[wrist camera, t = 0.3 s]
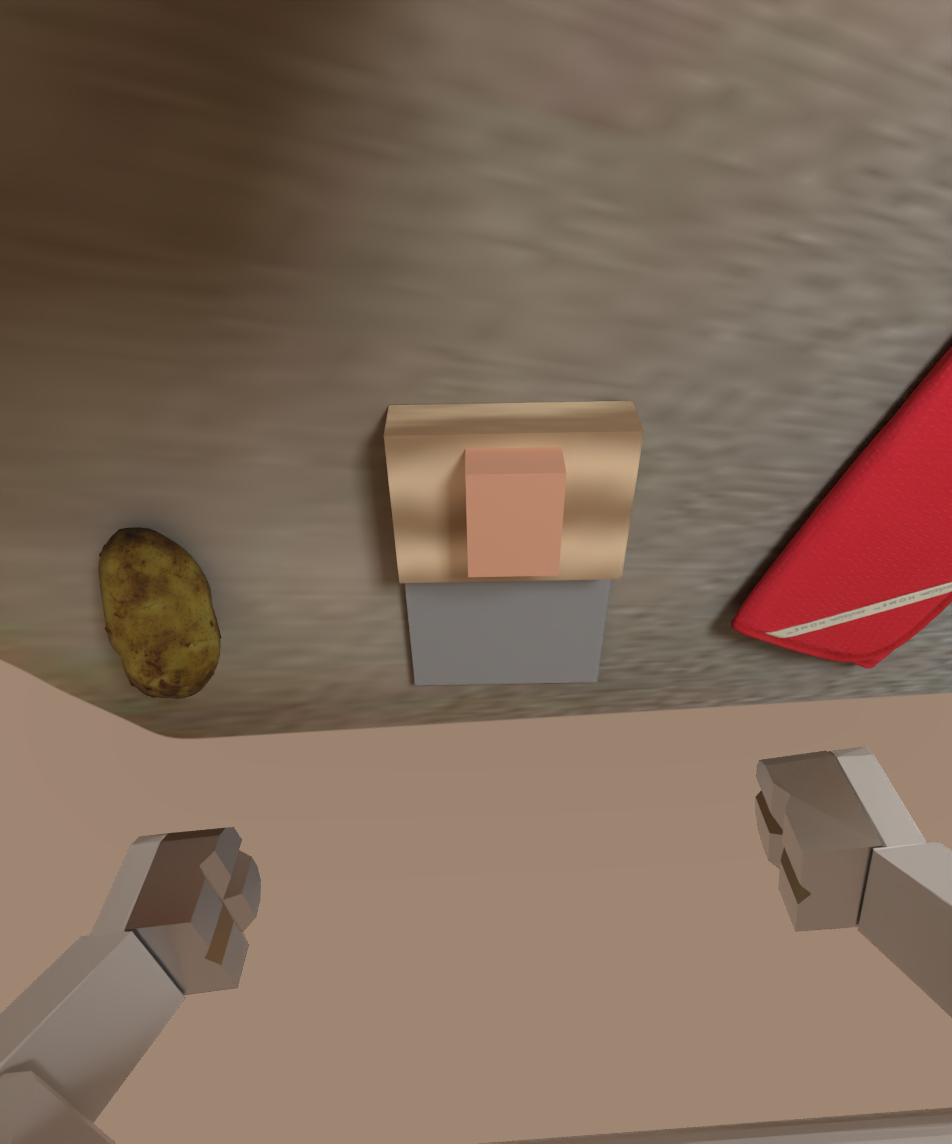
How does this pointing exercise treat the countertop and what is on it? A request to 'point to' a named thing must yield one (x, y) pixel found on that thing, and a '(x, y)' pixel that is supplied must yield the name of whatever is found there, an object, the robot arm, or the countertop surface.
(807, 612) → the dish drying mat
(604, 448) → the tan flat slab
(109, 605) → the potato
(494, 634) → the mat
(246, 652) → the countertop surface
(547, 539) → the block
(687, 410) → the countertop surface
